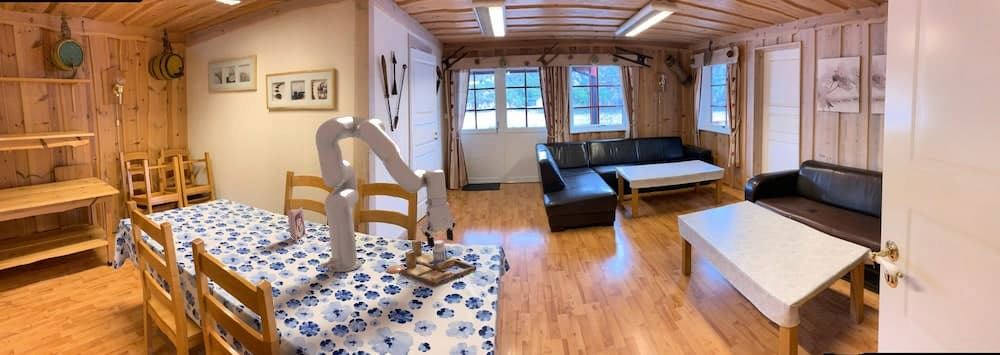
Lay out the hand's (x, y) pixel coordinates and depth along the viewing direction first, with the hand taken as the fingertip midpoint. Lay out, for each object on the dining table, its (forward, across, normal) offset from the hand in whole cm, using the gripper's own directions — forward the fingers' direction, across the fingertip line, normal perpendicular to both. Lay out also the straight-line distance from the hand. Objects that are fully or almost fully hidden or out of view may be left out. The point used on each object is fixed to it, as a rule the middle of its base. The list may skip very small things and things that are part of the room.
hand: (440, 243), depth 194 cm
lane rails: (+9, -6, -4) cm, 11 cm away
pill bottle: (+9, 0, +1) cm, 9 cm away
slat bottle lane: (+9, -1, +7) cm, 11 cm away
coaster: (+9, -15, +11) cm, 20 cm away
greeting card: (+7, -23, +83) cm, 86 cm away
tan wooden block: (+9, -11, +3) cm, 14 cm away
